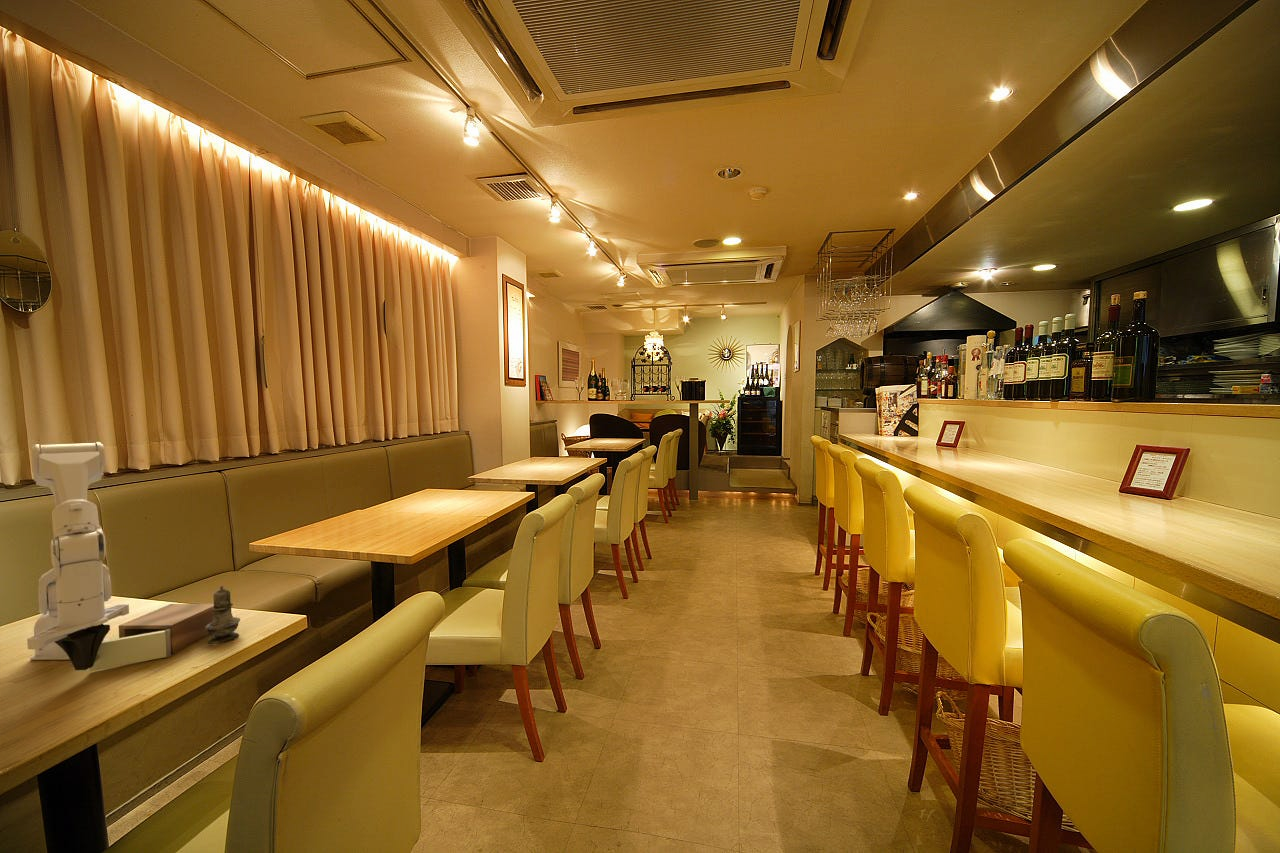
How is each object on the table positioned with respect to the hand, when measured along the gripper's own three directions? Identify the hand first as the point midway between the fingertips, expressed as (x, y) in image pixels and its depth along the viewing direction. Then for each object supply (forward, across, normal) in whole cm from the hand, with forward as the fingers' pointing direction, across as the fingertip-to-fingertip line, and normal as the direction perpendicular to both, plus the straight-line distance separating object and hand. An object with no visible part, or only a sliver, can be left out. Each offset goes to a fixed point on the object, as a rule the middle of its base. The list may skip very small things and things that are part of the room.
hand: (84, 668), depth 89 cm
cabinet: (+2, +15, -2) cm, 15 cm away
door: (+2, +5, -3) cm, 7 cm away
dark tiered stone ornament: (+3, +16, -12) cm, 20 cm away
